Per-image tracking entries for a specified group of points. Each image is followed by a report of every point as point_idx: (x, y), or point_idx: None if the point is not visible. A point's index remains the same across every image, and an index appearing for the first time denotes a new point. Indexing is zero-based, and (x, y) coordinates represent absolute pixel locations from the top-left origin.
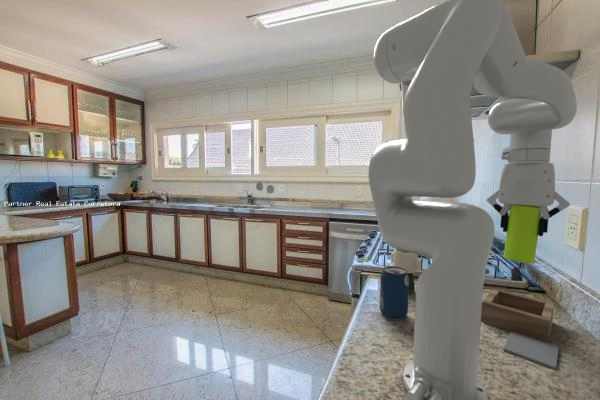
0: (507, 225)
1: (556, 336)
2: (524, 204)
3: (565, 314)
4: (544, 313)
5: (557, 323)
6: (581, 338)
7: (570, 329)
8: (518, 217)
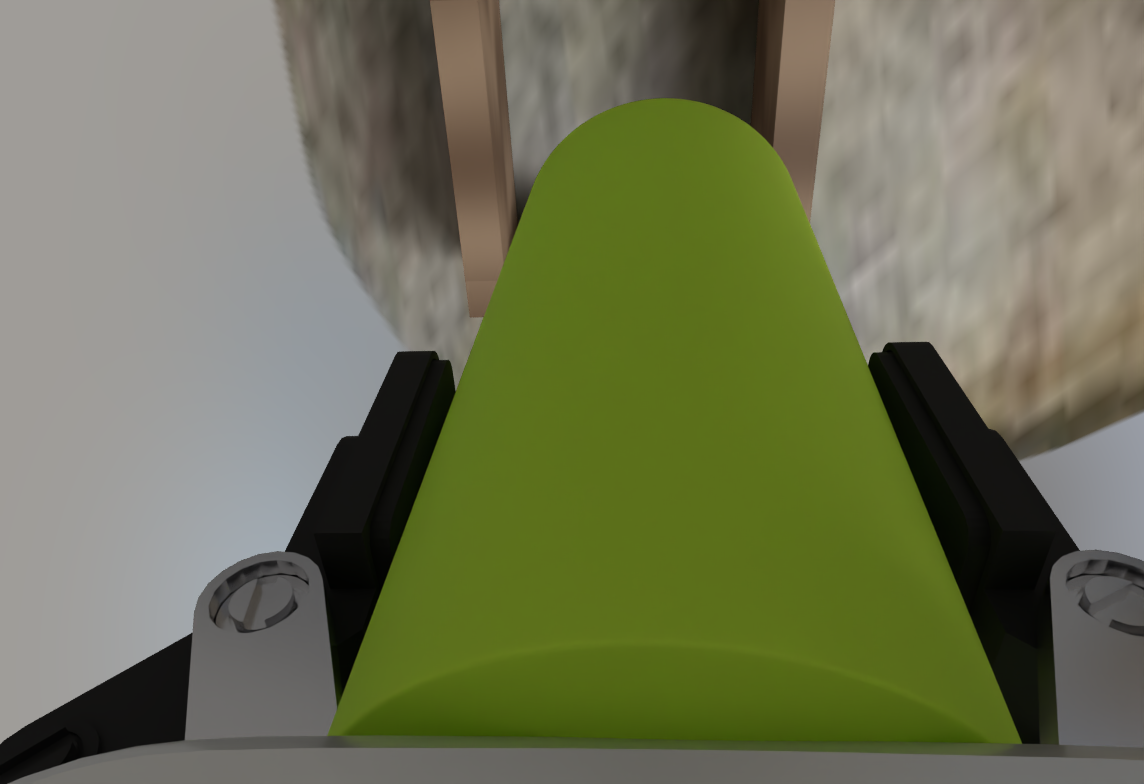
0: None
1: (439, 84)
2: (672, 753)
3: None
4: (473, 69)
5: None
6: (354, 165)
7: (410, 242)
8: (752, 405)
